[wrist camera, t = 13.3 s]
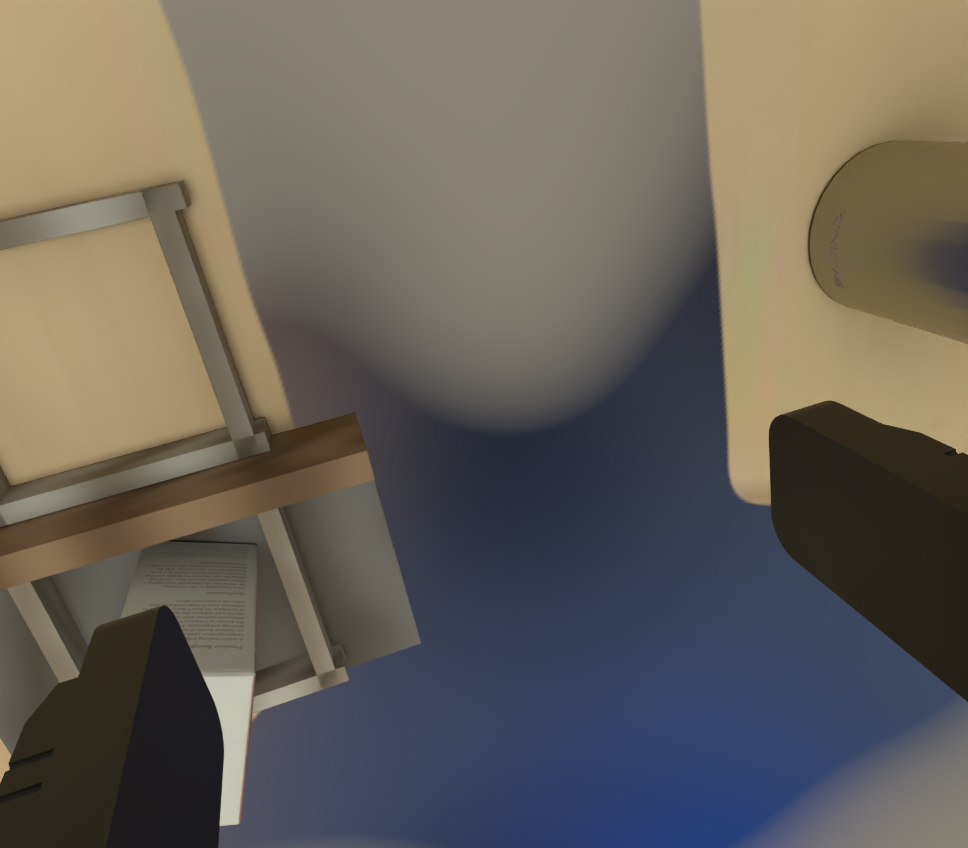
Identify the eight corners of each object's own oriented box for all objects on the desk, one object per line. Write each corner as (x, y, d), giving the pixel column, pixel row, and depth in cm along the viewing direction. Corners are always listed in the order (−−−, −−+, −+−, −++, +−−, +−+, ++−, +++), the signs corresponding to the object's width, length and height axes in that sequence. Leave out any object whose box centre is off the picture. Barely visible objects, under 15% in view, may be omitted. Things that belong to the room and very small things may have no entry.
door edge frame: (282, 158, 33) (284, 163, 28) (419, 637, 44) (436, 694, 40) (-276, 279, 29) (-373, 307, 25) (28, 768, 40) (-2, 848, 36)
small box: (247, 668, 41) (241, 830, 32) (136, 670, 39) (95, 842, 30) (260, 540, 39) (259, 674, 29) (142, 535, 37) (100, 677, 27)
